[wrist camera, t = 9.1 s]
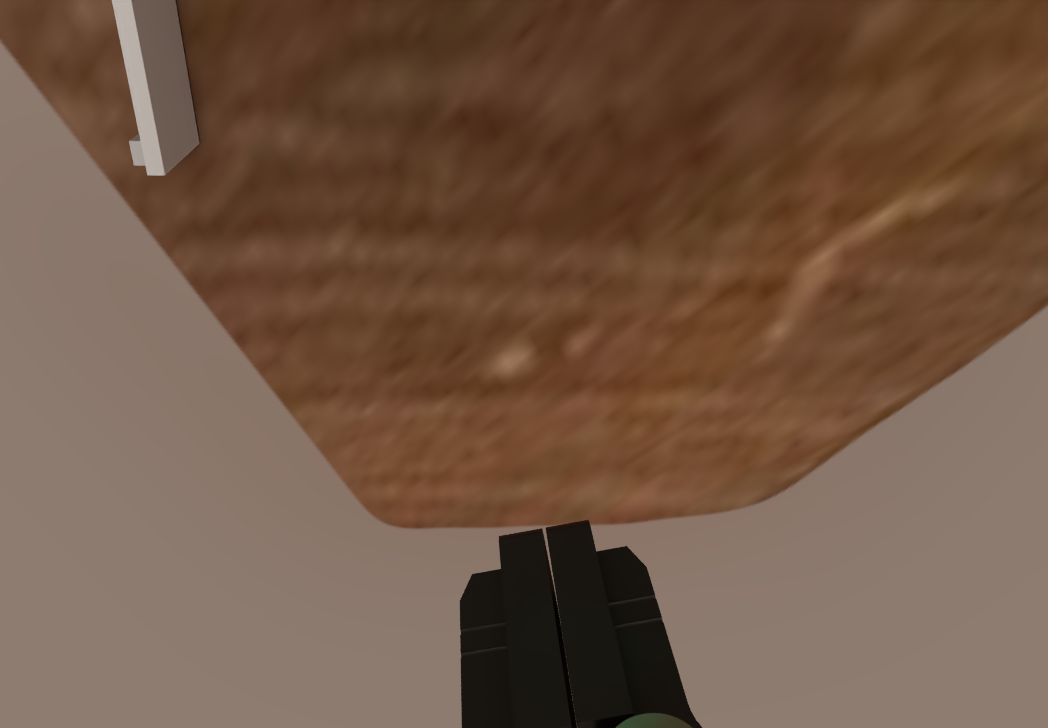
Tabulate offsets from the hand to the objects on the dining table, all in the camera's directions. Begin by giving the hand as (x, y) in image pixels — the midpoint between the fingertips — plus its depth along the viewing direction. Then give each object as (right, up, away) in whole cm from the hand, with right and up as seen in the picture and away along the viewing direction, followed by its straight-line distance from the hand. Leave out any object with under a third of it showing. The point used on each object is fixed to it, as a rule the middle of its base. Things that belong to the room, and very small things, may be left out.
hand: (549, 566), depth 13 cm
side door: (-19, +21, +26) cm, 38 cm away
